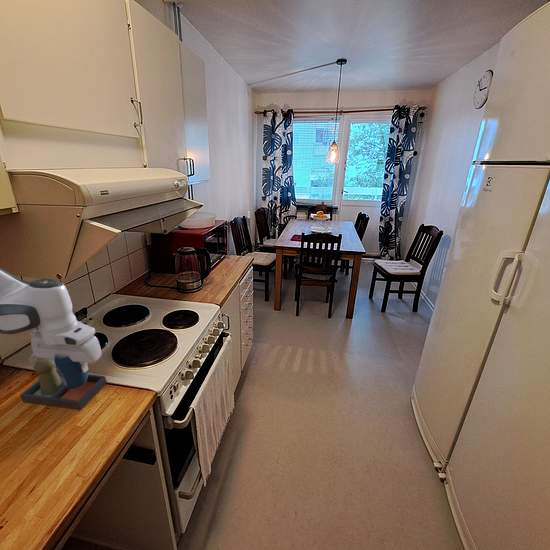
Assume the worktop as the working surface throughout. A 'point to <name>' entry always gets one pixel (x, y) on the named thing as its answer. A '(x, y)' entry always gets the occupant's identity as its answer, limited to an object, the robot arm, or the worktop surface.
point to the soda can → (70, 372)
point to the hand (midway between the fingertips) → (72, 369)
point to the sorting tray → (66, 394)
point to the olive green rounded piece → (47, 377)
